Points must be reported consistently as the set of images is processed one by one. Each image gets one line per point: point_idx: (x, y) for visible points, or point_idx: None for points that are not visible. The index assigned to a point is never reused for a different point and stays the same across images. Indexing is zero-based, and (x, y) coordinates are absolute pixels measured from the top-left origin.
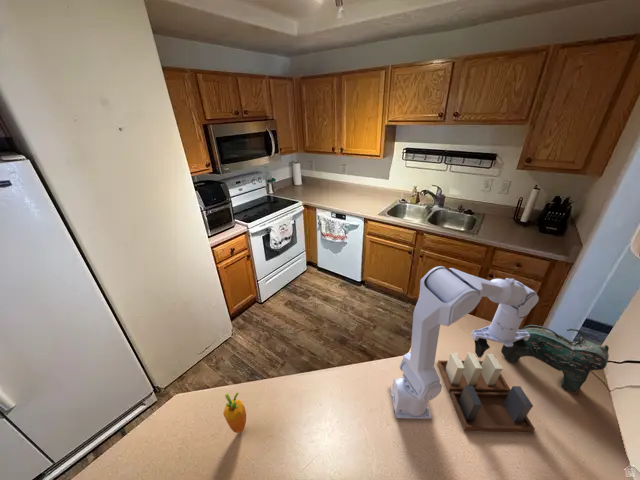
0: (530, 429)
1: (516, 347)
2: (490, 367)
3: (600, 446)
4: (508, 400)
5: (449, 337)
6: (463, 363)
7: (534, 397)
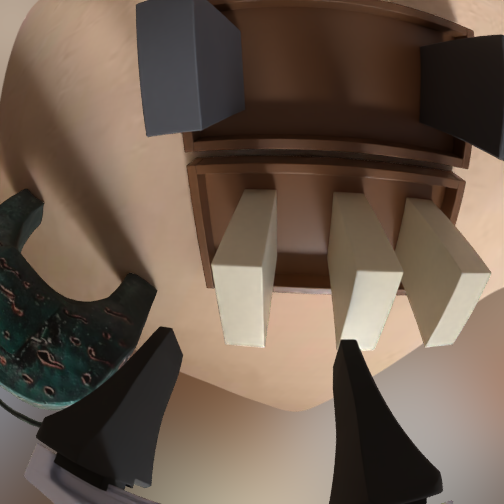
0: None
1: (93, 443)
2: (268, 271)
3: (32, 49)
4: (233, 96)
5: (313, 358)
6: None
7: (111, 154)
